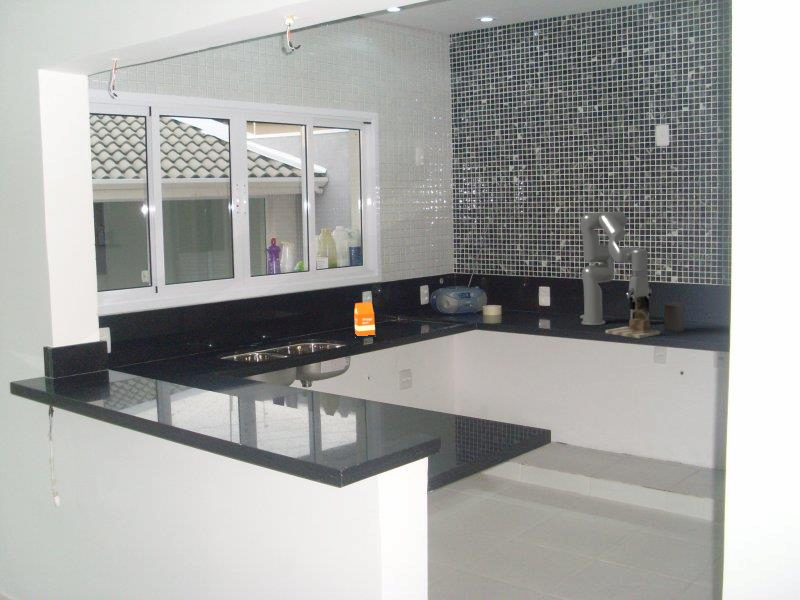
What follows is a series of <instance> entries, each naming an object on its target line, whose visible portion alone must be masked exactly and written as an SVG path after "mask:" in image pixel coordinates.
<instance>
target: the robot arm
mask: <svg viewBox="0 0 800 600" xmlns="http://www.w3.org/2000/svg"><path fill="white" fill-rule="evenodd" d="M627 222H628V217H627V215H626V214H625V213H624V212H622V211H620V210H619V211H605V212H591V213H586V214H584V215H583V216H581V219H580V221H579V226H580V227H579V228H580V232H581V235H582V247H583V248H582V249H583V259H584V262H586V263H588V264H593V265H587V266H585V267H584V268H583V269H582V270H581V279H582V283H583V303H584V304H583V305H584V310H583V311H584V312H583V313H584V314H582V315H580V316H579V318H580V319H582V320H581V324H582V325H585V326H600V325H605V324H606V321H605V320H603V291H602V288H601V286H600V285H599V283H600V284H601V283H607V282H611V281H612V280H613V279H614V276H615V269H614V268H615V266H614V265H615V264H614V263H615V262H616V263H617V264H625V263H631V276H630V277H629V285H628V292H626V298H627V300H628V302H629V310H630V309H632V310H635V302H634V301H635V299H636V297H644V299H643V307H649V308H650V299H651V298H650V297H651V295H652V291H653V289H651V288H650V285H649V284H650V282H649V278H648V277H649V276H648V250H647V249H646V248H640V247H637V246H632V247H630V246H629V247H628V246H627V247H620V246H619V245H618V242H620V241H622V240H624V238H625V235H626V230H625V226H626V225H627ZM596 229H597V230H599V229H601V230H603V231H604V232H605V234H606V235H607V236H606V237H608V238H609V240H608V244H605V243H603V244H600V237H599V234H598V233H597V231H596ZM614 261H615V262H614ZM596 263H601V264H596Z"/></svg>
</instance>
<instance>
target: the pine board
mask: <svg viewBox="0 0 800 600" xmlns="http://www.w3.org/2000/svg"><path fill="white" fill-rule="evenodd" d="M604 332H605V334H608V335H609V334H610V335H614V336H620V337H621V336H622V337H628V338H635V339H642V338H649V337H651V336H658V335H660V334H661V331H660V330H653V329H650V332H649V333H637V332H630V331H629V326H622V327H621V326H620V327H617V328H616V327H615V328H610V329H605V331H604Z"/></svg>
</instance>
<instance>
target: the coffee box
mask: <svg viewBox="0 0 800 600" xmlns="http://www.w3.org/2000/svg"><path fill="white" fill-rule="evenodd" d="M643 299H644V297H636V299H635V301H634V302H635V310H632V309H630V308H629V310H630V319H635V318H637V319H645V320H650V306H649V307H643Z"/></svg>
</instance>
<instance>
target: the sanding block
mask: <svg viewBox="0 0 800 600" xmlns="http://www.w3.org/2000/svg"><path fill="white" fill-rule="evenodd" d="M628 322H629V323H628V325H629V326H628V327H629V331H630V332H637V333H649V332H650V330H651V319H649V320H645V319H637V318H635V319H631V318H630V319H629V320H628Z"/></svg>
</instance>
